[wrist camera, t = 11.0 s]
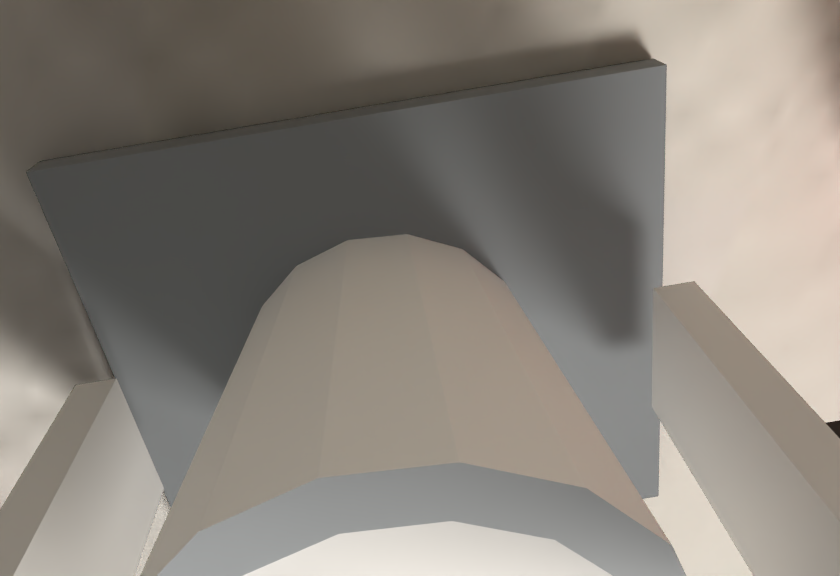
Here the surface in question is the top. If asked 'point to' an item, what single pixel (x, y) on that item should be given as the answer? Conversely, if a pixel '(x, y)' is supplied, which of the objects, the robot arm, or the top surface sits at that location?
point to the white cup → (403, 438)
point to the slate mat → (376, 217)
